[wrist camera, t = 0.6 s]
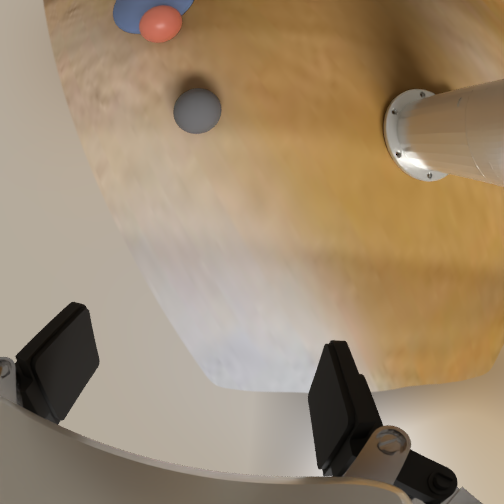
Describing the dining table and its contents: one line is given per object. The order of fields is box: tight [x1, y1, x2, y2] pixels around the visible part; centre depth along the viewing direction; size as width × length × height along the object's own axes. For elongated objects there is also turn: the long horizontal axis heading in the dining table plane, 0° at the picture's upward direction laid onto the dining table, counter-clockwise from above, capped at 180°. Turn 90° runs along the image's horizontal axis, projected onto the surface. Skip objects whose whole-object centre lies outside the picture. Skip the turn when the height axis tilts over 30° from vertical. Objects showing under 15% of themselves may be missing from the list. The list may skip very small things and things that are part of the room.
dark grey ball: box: [173, 88, 221, 134], centre depth 29 cm, size 6×6×6 cm
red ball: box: [139, 5, 182, 43], centre depth 25 cm, size 6×6×6 cm
